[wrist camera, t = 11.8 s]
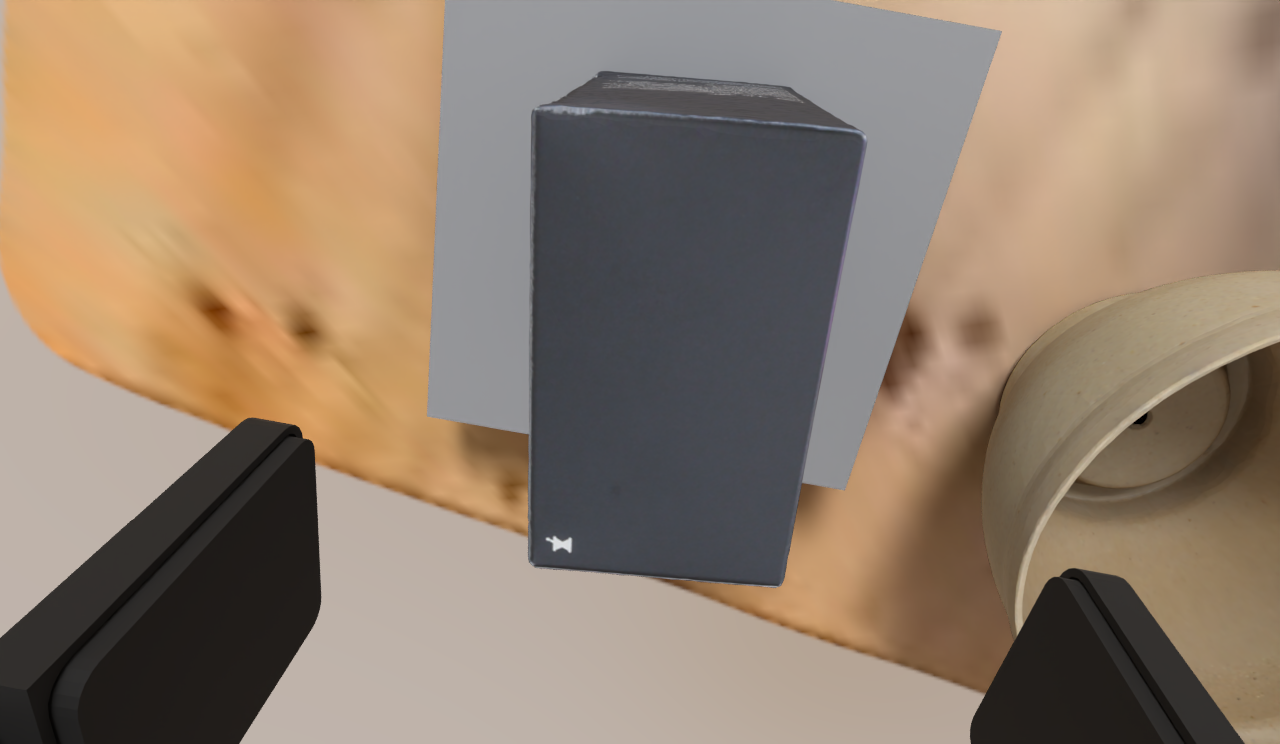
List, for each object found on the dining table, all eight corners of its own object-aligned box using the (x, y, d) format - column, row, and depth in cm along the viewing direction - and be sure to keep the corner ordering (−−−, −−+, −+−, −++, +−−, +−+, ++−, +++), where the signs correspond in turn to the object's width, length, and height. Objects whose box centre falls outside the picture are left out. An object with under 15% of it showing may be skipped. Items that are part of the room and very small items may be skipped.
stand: (957, 29, 25) (1002, 31, 21) (827, 436, 32) (844, 490, 28) (484, -57, 25) (448, -70, 21) (457, 371, 32) (426, 416, 28)
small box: (759, 397, 27) (793, 605, 17) (579, 381, 27) (515, 577, 18) (807, 83, 22) (889, 131, 13) (590, 66, 22) (512, 101, 13)
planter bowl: (1157, 604, 34) (1340, 838, 25) (844, 480, 33) (907, 678, 23) (1448, 304, 28) (1862, 462, 18) (1074, 127, 26) (1303, 194, 16)
